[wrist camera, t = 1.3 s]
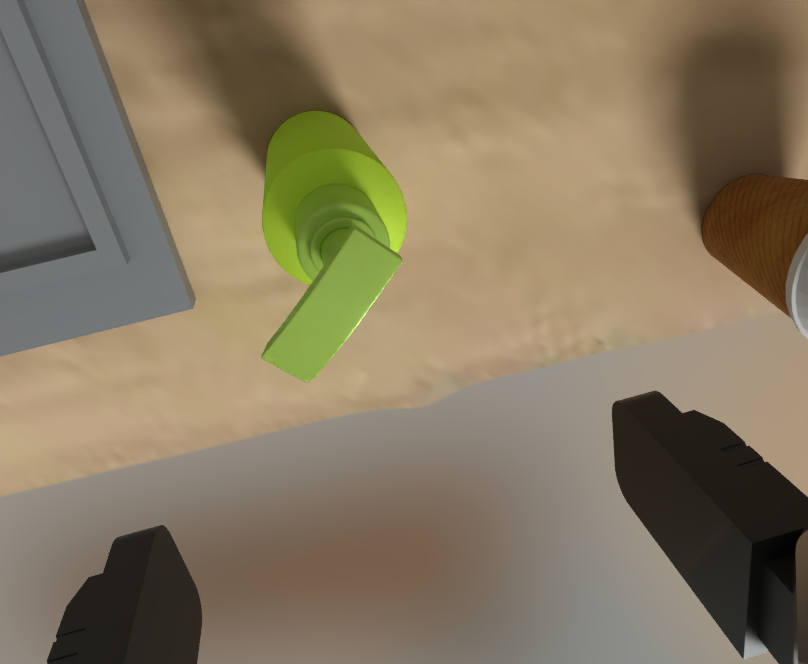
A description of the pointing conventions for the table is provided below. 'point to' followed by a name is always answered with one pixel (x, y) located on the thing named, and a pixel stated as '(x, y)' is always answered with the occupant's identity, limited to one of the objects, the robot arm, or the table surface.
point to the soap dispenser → (328, 234)
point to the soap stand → (73, 189)
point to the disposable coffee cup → (764, 239)
